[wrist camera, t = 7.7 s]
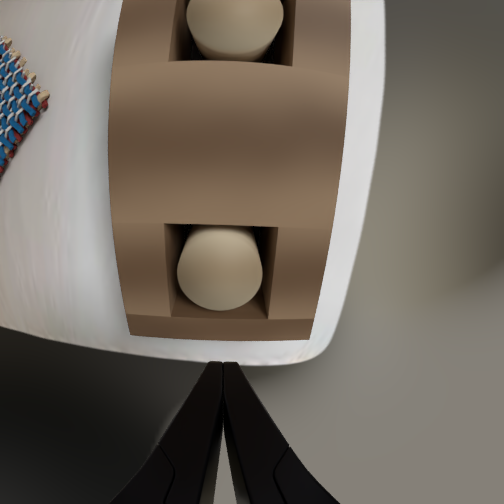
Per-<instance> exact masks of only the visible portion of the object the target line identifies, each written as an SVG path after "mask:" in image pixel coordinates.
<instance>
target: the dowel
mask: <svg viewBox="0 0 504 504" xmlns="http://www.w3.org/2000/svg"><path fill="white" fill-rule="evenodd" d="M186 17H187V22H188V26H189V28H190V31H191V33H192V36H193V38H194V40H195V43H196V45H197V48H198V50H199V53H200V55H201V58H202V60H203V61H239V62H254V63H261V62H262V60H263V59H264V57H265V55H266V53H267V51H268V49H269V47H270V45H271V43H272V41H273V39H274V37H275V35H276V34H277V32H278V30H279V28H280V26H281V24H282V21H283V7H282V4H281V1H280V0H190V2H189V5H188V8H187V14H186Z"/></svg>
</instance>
